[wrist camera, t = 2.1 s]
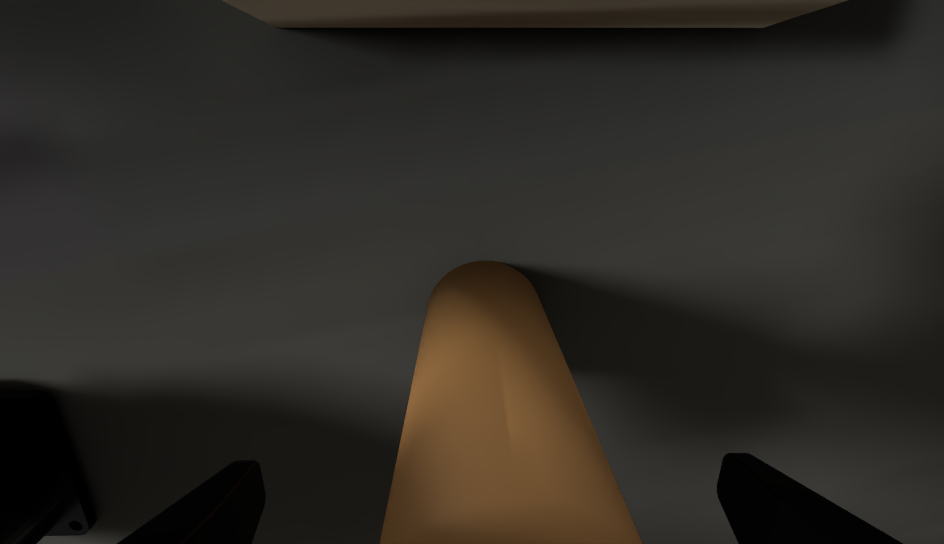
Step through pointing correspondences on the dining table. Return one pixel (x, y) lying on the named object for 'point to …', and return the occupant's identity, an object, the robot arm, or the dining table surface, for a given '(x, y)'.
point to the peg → (498, 428)
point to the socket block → (527, 13)
